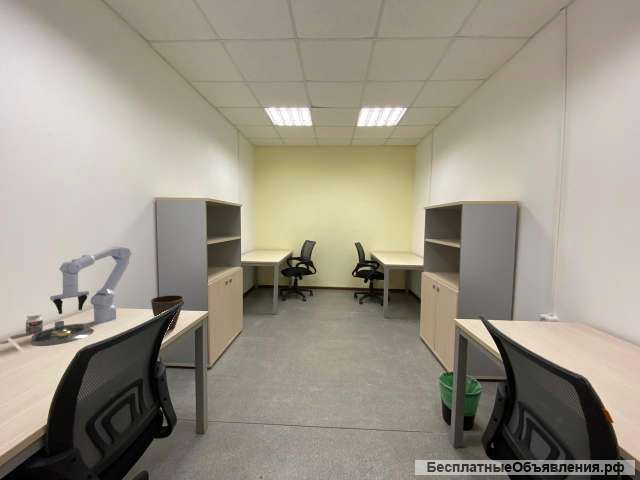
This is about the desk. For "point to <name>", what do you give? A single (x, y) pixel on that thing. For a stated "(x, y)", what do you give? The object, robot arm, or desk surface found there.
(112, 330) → the desk surface
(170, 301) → the plant pot
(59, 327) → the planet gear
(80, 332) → the dark grey round tray
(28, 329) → the pill bottle
